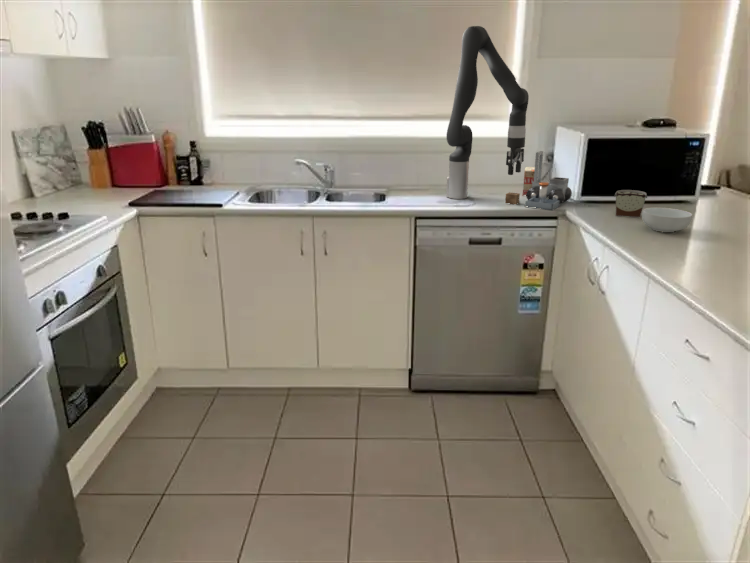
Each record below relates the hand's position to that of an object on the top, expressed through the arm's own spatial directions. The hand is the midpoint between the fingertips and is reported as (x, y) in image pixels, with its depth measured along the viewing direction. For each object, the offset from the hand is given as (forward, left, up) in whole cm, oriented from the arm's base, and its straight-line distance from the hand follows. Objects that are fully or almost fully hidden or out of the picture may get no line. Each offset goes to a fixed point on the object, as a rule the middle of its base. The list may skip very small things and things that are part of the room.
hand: (514, 173), depth 259 cm
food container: (+49, +3, -14) cm, 51 cm away
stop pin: (+14, 0, -13) cm, 19 cm away
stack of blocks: (-3, +30, -14) cm, 33 cm away
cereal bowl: (+66, -15, -14) cm, 69 cm away
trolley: (+13, +11, -14) cm, 22 cm away
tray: (+14, 0, -14) cm, 19 cm away
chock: (0, 0, -14) cm, 14 cm away
